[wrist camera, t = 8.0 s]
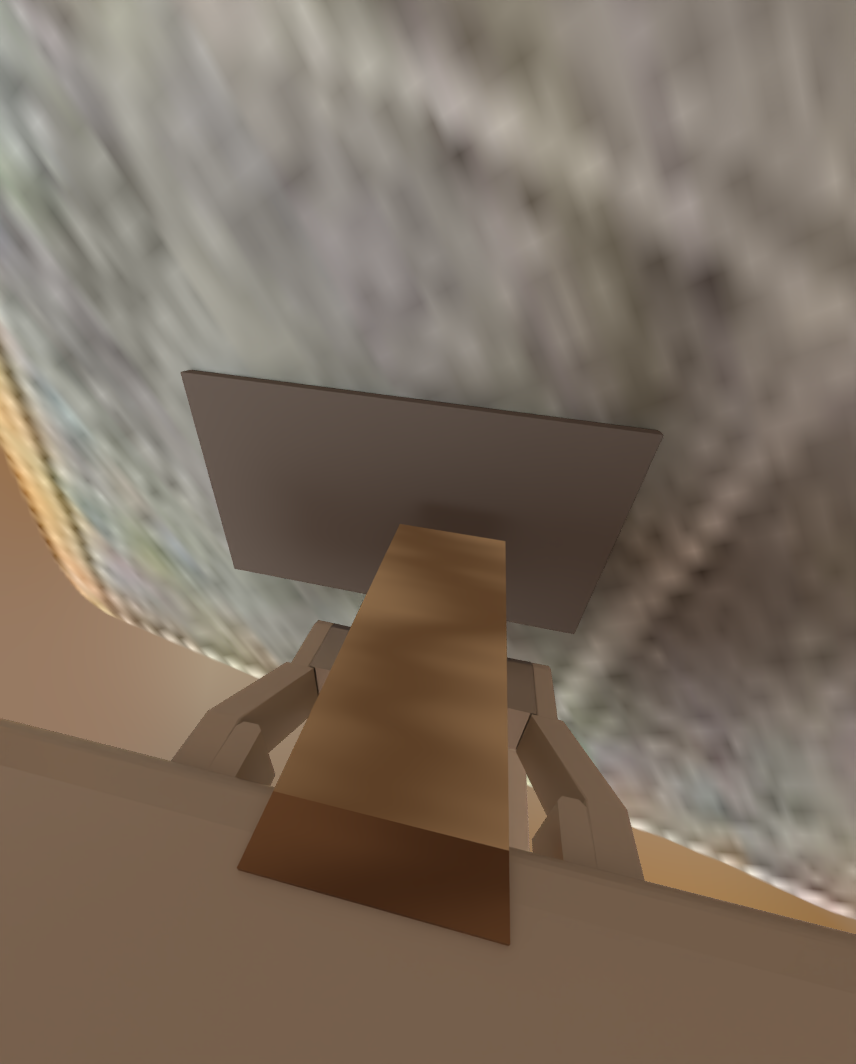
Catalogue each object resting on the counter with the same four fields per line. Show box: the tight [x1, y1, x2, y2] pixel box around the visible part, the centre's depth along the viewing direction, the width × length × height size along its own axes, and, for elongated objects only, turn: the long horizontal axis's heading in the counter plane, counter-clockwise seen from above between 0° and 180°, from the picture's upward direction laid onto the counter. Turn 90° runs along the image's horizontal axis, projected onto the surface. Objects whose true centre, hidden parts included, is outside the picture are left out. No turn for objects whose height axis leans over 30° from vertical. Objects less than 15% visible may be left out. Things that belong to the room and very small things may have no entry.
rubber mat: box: [181, 370, 664, 634], centre depth 18 cm, size 20×11×1 cm, turn 85°
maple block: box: [237, 524, 510, 946], centre depth 10 cm, size 4×4×10 cm
